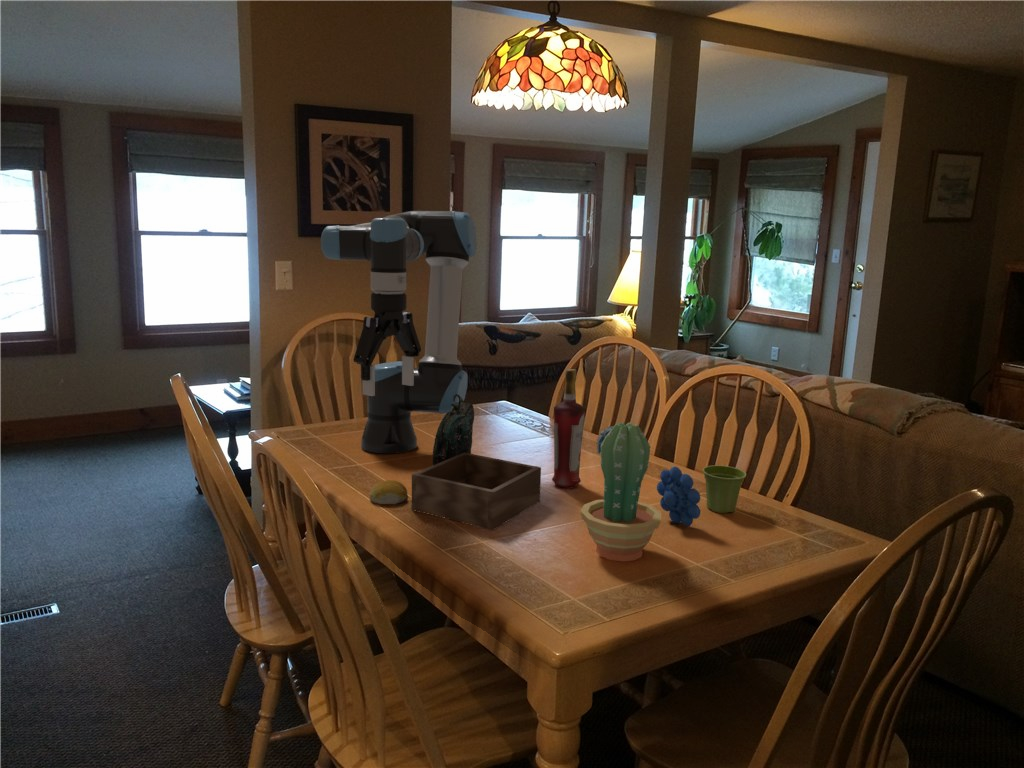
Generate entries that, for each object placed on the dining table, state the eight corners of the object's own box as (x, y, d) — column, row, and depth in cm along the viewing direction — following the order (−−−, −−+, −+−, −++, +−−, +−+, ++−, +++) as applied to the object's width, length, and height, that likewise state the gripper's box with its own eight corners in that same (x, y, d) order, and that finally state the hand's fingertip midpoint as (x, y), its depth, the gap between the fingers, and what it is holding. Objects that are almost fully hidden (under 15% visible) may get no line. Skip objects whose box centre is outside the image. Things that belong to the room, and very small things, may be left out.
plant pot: (744, 505, 181) (747, 468, 180) (741, 519, 173) (745, 480, 171) (702, 499, 184) (704, 463, 183) (697, 512, 176) (700, 474, 174)
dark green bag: (455, 463, 207) (457, 387, 203) (479, 465, 205) (481, 389, 201) (427, 486, 188) (427, 403, 184) (453, 489, 186) (454, 405, 182)
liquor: (556, 478, 196) (560, 366, 191) (585, 482, 194) (590, 369, 188) (546, 487, 190) (551, 371, 184) (576, 491, 187) (581, 374, 181)
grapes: (641, 518, 171) (645, 464, 169) (663, 512, 175) (667, 459, 173) (683, 536, 162) (687, 479, 160) (705, 529, 166) (710, 473, 164)
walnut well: (411, 510, 172) (411, 474, 171) (463, 484, 190) (464, 452, 188) (492, 530, 162) (493, 492, 161) (539, 501, 180) (541, 467, 178)
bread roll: (407, 492, 184) (407, 475, 183) (406, 505, 176) (406, 488, 175) (370, 492, 183) (370, 475, 182) (368, 506, 174) (368, 488, 174)
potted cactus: (651, 536, 161) (659, 416, 156) (667, 569, 146) (677, 436, 141) (575, 535, 161) (580, 414, 156) (583, 567, 146) (589, 435, 141)
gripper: (364, 297, 158) (365, 402, 162) (437, 290, 179) (436, 383, 183) (335, 294, 161) (336, 397, 165) (409, 287, 183) (409, 379, 187)
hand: (388, 390), depth 174 cm, fingers open, 13 cm apart
